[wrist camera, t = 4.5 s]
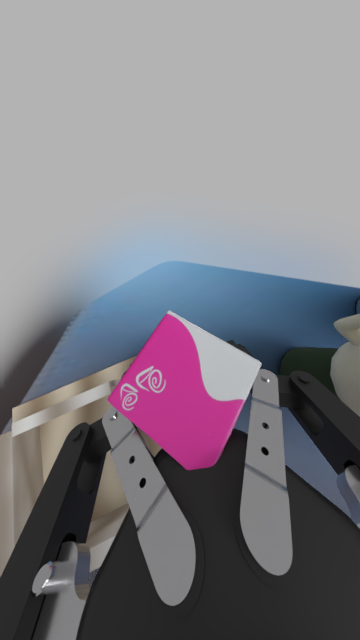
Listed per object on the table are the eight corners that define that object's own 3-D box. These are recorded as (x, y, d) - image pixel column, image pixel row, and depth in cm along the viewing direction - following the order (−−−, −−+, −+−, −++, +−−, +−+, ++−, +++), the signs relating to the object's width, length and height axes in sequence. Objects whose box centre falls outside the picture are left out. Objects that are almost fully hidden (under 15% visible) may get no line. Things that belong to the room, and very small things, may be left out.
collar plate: (141, 354, 18) (130, 353, 15) (189, 506, 13) (190, 554, 10) (22, 405, 17) (-19, 417, 13) (29, 590, 12) (-30, 677, 9)
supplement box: (179, 337, 18) (169, 304, 7) (217, 361, 17) (272, 364, 6) (155, 375, 17) (100, 402, 6) (195, 404, 16) (214, 500, 5)
